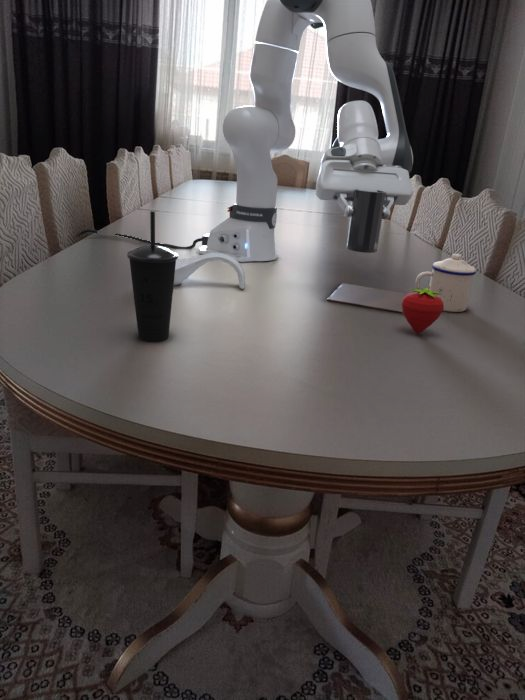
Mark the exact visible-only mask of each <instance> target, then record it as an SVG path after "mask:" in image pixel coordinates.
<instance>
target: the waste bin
mask: <svg viewBox="0 0 525 700" xmlns="http://www.w3.org/2000/svg"><path fill="white" fill-rule="evenodd" d="M386 193H387V192H385V191H380V190H377V192H370V191H361V190H358V189H354V194H353V201H352V202H351V205H352V206H353V215H352V217H349V223H348V232H347V240H346V249H347V250H349V251H351V252H357V253H364V254H367V253H368V254H371V253H372V254H373V253H377V252H378V248H379V243H380V238H381V237H380V235H381V230H382V225H383V219H382V218H383V212H384V208H385V207H384V205H385V199H386Z"/></svg>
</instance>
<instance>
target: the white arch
mask: <svg viewBox="0 0 525 700" xmlns="http://www.w3.org/2000/svg"><path fill="white" fill-rule="evenodd" d="M214 261H220V262H223V263H226V264H228V265H229V266H231V267H232V268H233V269H234V270H235V272H236V274H237V278H238V285H239V288H240V289H241V290H244V289H245V287H246V275H245V271H244V268H243V266H242V265H241V264H240V262H239V261H236V260H235V259H234V258H232V257H230V256H228V255H225V254H222V253H208V254H200V255H195V256H192V257H187V258H186V257H185V258H178V259H177V260H176V266H175V276H174V286H178V285H180V284H183V282H184V281H185V280H187V279H188V278H189V277H190V276H192V274H193V273H194V272H196V271H197V270H199V268H201V267H202V266H204V265H206V264H207V263H209V262H214Z"/></svg>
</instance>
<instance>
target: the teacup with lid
mask: <svg viewBox="0 0 525 700" xmlns="http://www.w3.org/2000/svg"><path fill="white" fill-rule="evenodd" d="M462 257H463V256H462V254H460V253H453V254H451V257H447V258H445V259H443V260H439V261H435V262H433V264H432V266H431V268H432V271H423V272H420V273H419V274H418V275H417V276H416V279H415V286H416V289H419V290H423V288H421V285H420V280H421V279H422V278H423V277H424V276H430V279H429V280H430V281H429V285H430V289H429V288H428V289H429V290H431V291H433V292H437V293H440V294H441V295H437V294H434V295H435V296H437V297H439V298H441V300H442V301H443V306H444V309H443V311H442V312H447V313H461V312H465V311H466V310H467V308H468V303H469V299H470V295H471V291H472V286H473V283H474V279H475V278H474V277H475V275H476V274H477V269H476V267H474V266H473V265H470V264H469V263H468V262H467V261H466V260H464V259H462ZM423 291H424V290H423Z"/></svg>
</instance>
